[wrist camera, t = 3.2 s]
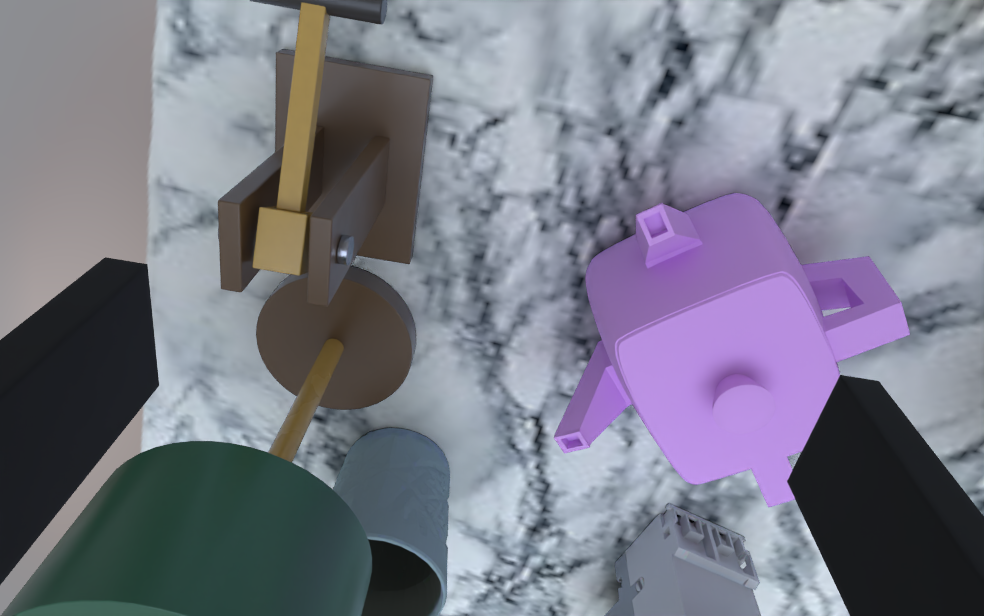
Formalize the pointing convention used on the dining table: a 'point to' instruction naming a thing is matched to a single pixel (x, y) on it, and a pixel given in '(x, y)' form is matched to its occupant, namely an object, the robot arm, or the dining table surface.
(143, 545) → the lamp
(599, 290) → the teakettle
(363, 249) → the switch bracket
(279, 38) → the dining table surface
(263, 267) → the switch lever
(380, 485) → the blue-grey cup
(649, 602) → the circuit breaker
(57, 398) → the robot arm
